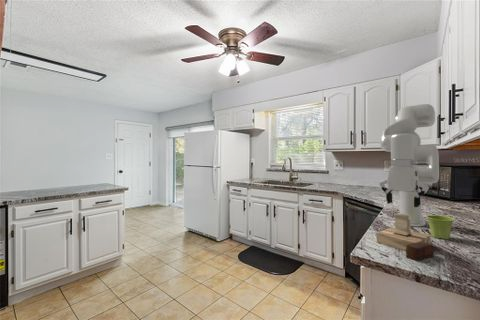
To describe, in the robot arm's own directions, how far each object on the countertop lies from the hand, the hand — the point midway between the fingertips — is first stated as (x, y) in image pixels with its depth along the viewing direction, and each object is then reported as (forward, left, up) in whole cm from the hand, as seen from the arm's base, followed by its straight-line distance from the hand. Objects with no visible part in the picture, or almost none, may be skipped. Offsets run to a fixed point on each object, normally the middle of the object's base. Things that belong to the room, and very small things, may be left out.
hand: (402, 204), depth 94 cm
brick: (+10, +9, -17) cm, 21 cm away
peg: (+1, 0, -16) cm, 16 cm away
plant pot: (-21, +6, -16) cm, 28 cm away
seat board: (+1, 0, -16) cm, 16 cm away
